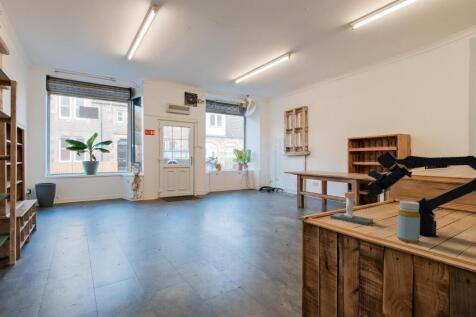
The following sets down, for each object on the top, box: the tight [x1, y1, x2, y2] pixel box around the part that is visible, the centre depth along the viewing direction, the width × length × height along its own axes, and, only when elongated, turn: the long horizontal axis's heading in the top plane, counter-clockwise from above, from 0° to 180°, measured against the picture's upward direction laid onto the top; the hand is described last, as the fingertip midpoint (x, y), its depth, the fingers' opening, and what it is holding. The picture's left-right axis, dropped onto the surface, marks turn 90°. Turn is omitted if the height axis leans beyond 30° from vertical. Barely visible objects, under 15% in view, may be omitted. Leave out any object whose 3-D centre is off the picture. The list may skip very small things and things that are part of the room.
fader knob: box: [343, 191, 356, 218], centre depth 123 cm, size 4×5×12 cm
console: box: [329, 212, 374, 226], centre depth 122 cm, size 18×9×2 cm, turn 47°
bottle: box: [396, 200, 421, 244], centre depth 93 cm, size 7×7×15 cm
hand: (366, 197), depth 118 cm, fingers closed
